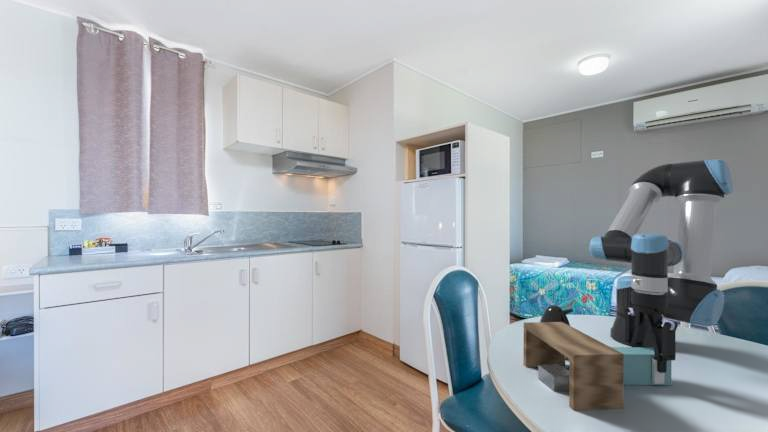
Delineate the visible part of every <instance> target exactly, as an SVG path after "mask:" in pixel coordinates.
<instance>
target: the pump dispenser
mask: <svg viewBox="0 0 768 432" xmlns="http://www.w3.org/2000/svg"><path fill="white" fill-rule="evenodd" d="M573 312H574V310H573V308H568V309H563V308H562V307H560V306H559V305H556V304H552V305H549V306H547V307H546V308H545V309H544V311H543V313H542V315H541V318H540V321H539V322H563V323H565V324H567V325H569V326H571V324H570V321H569V318H568V316H567V315H568V314H570V313H573Z"/></svg>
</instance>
